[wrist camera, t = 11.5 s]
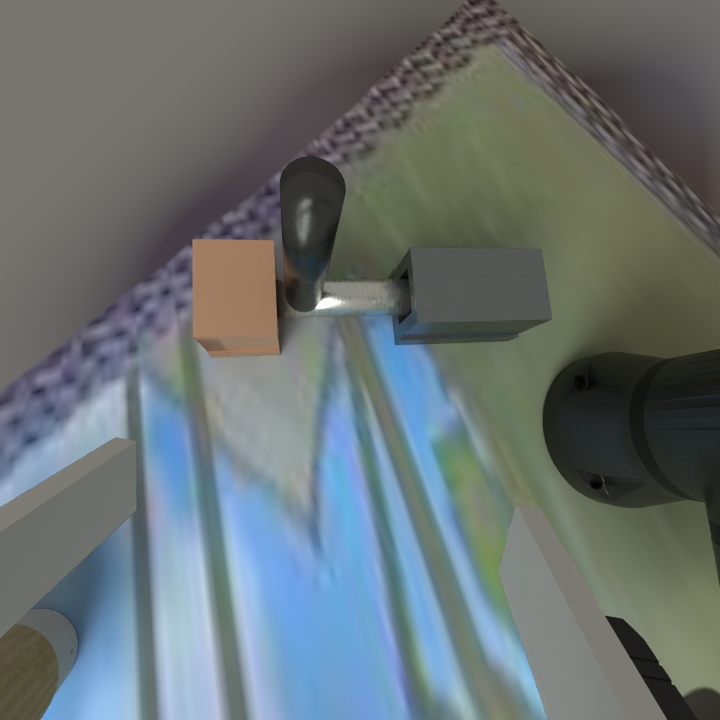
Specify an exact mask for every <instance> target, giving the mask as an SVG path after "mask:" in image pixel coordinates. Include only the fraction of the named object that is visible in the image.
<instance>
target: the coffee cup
mask: <svg viewBox="0 0 720 720" xmlns="http://www.w3.org/2000/svg"><path fill="white" fill-rule="evenodd" d="M77 652H78V639H77V634H76V631H75V629H74V626H73V625H72V623H71V622H70V621H69V620H68V619H67V618H66V617H65V616H64V615H62V614H61V613H59V612H56V611H54V610H50V609H32V610H29V611H28V612H27V613H26V614H25V615H24V616H23V617H22V618H21V619H20V620H19V621H18V622H17V623H15V624H14V625H13V626H12V627H11V628H10V629H9V630H8V631H7V632H6V633H5V634H4V635H3V636H2V637H1V638H0V720H40V719H41V718H42V716H43V715H44V713H45V712H46V710H47V708H48V707H49V705H50V703H51V701H52V699H53V696H54V695H55V693H56V692H57V690H58V689H59V687H60V686H61V685H62V683H63V682H64V680H65V679H66V677H67V676H68V674H69V673H70V671H71V669H72V668H73V665H74V663H75V660H76V657H77Z"/></svg>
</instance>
